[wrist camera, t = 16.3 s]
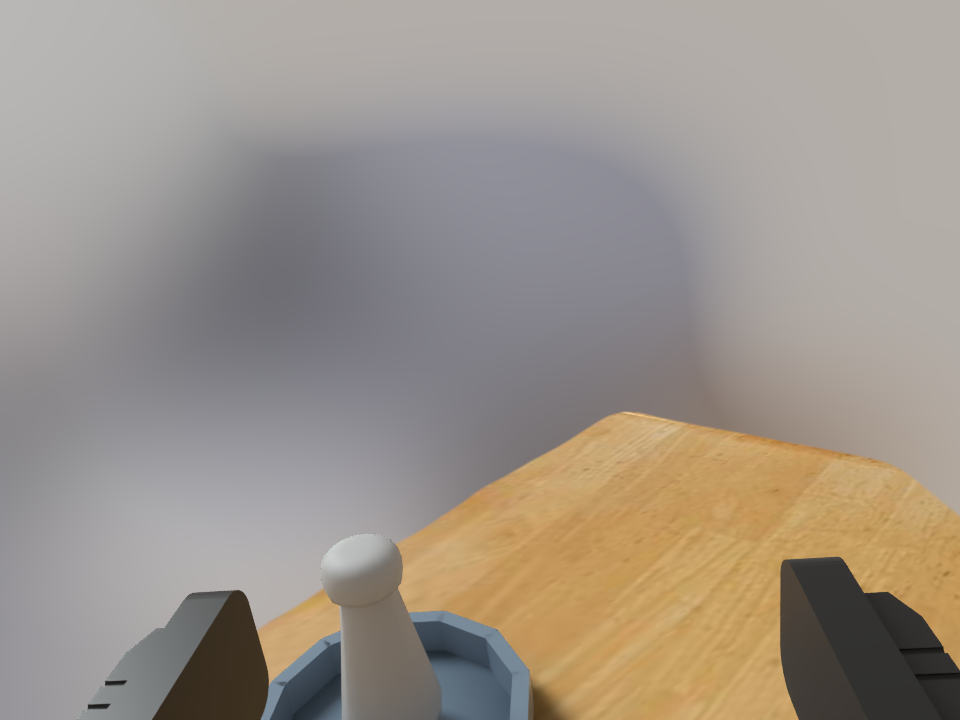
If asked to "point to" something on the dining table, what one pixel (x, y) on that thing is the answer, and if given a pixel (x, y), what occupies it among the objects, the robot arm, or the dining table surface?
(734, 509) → the dining table surface
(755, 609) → the dining table surface
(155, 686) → the robot arm
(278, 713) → the bowl
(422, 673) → the salt shaker
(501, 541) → the dining table surface
